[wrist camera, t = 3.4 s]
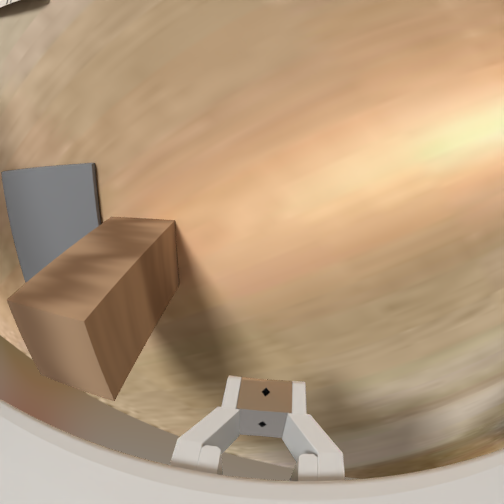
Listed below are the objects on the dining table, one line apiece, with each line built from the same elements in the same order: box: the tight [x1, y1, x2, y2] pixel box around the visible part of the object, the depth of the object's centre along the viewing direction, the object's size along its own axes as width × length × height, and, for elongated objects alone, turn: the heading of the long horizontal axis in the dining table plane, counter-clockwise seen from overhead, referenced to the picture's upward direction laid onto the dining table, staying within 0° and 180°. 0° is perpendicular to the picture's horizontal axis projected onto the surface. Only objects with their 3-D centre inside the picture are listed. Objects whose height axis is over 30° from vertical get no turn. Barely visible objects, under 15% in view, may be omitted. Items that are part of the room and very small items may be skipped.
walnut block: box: [7, 217, 179, 401], centre depth 17 cm, size 5×5×11 cm
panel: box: [1, 163, 101, 282], centre depth 22 cm, size 11×13×1 cm
